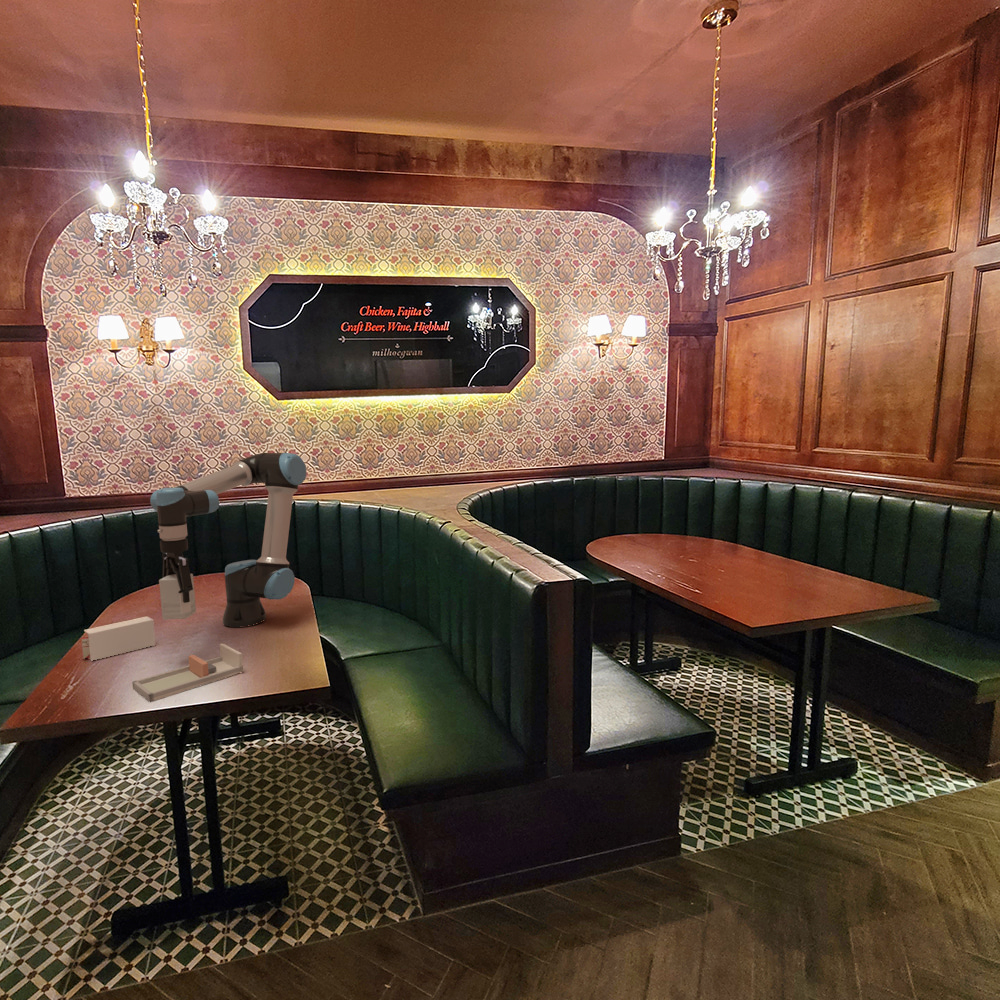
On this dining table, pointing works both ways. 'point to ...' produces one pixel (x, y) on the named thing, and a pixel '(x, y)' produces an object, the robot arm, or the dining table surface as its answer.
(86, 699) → the dining table surface
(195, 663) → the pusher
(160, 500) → the robot arm
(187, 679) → the beige shallow tray
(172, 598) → the supplement box
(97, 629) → the cigarette display
